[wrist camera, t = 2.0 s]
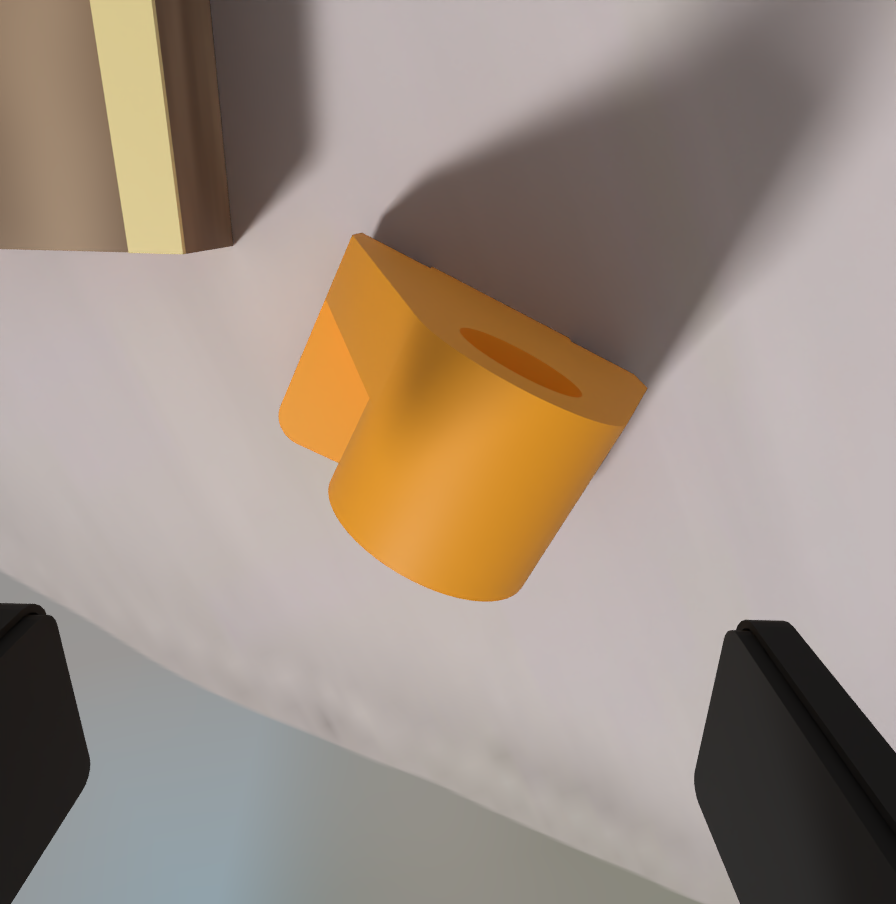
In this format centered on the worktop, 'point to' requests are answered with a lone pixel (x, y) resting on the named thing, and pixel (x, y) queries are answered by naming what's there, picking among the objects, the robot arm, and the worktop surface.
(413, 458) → the bracket
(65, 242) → the dock
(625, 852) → the worktop surface
